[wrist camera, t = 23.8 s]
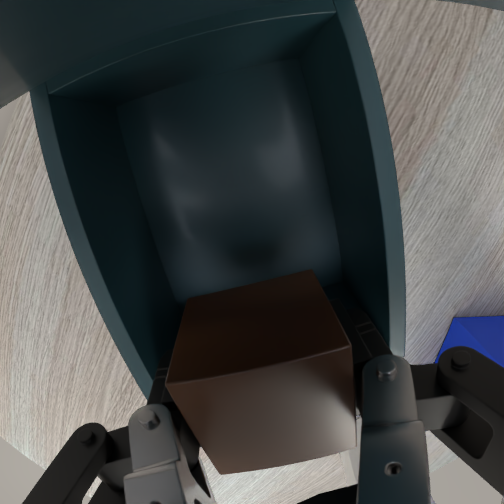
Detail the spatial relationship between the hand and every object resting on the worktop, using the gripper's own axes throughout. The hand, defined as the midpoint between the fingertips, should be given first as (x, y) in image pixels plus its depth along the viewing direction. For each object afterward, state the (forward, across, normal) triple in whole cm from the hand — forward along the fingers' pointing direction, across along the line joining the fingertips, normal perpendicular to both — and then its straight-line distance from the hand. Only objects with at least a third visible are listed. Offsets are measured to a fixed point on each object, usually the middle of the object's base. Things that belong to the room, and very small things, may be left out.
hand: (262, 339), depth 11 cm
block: (0, 0, 0) cm, 0 cm away
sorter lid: (-7, 0, -8) cm, 11 cm away
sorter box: (+8, 0, -4) cm, 9 cm away
